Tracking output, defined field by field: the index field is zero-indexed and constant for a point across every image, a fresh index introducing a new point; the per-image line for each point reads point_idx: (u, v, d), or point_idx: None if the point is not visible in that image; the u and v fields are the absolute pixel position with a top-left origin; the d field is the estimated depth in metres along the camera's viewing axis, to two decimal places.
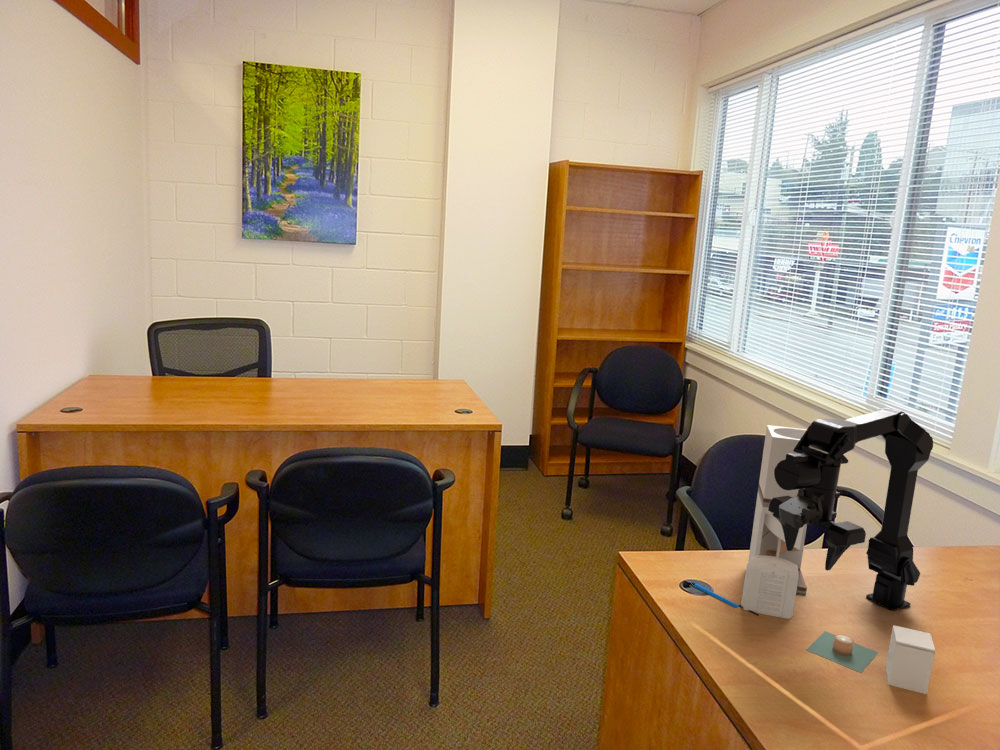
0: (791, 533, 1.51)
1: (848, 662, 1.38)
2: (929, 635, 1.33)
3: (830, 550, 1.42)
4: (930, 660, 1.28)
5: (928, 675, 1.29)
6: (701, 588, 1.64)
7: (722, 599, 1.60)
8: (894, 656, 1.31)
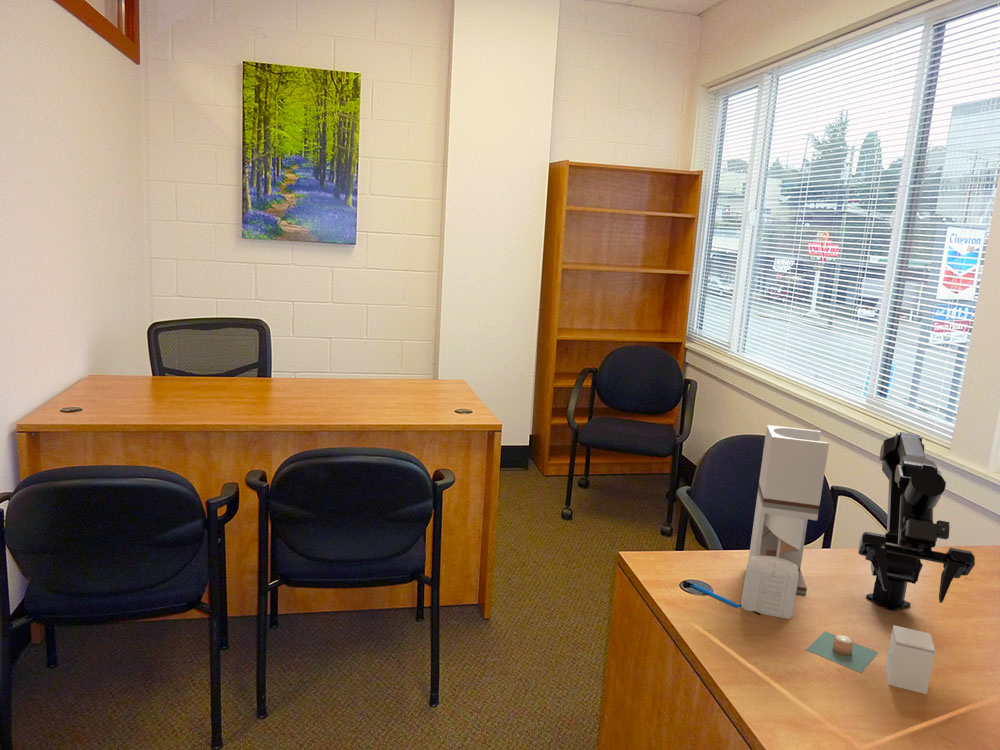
0: None
1: (848, 662, 1.38)
2: (929, 635, 1.33)
3: (948, 576, 1.37)
4: (930, 660, 1.28)
5: (928, 675, 1.29)
6: (700, 589, 1.64)
7: (722, 599, 1.60)
8: (894, 656, 1.31)
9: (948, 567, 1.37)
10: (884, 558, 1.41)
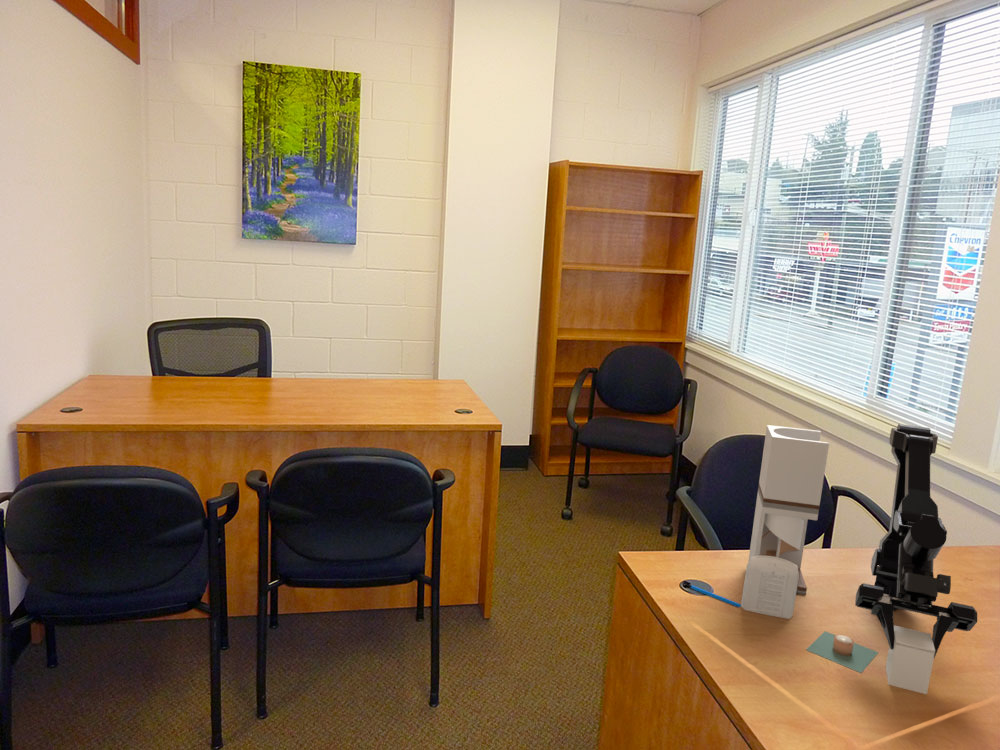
0: None
1: (848, 662, 1.38)
2: (929, 635, 1.33)
3: (940, 631, 1.31)
4: (930, 660, 1.28)
5: (928, 675, 1.29)
6: (699, 589, 1.63)
7: (722, 599, 1.60)
8: (894, 656, 1.31)
9: (940, 621, 1.31)
10: (891, 614, 1.34)
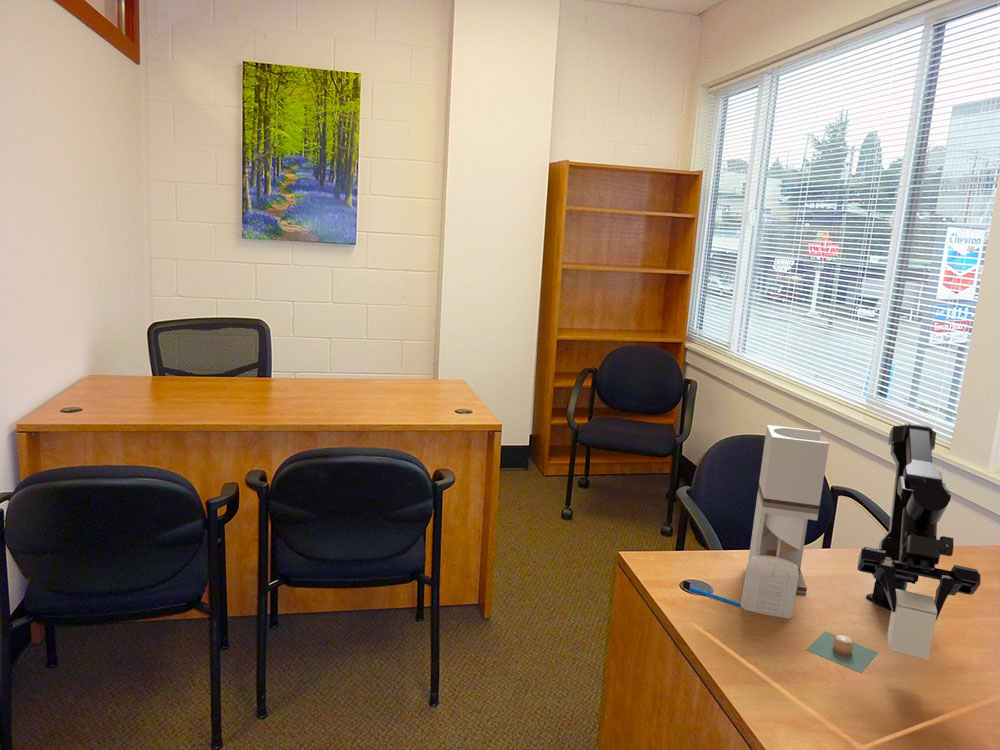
0: None
1: (848, 662, 1.38)
2: (932, 598, 1.32)
3: (943, 594, 1.30)
4: (932, 622, 1.27)
5: (930, 637, 1.28)
6: (698, 591, 1.63)
7: (723, 599, 1.60)
8: (896, 618, 1.30)
9: (942, 584, 1.30)
10: (893, 577, 1.33)
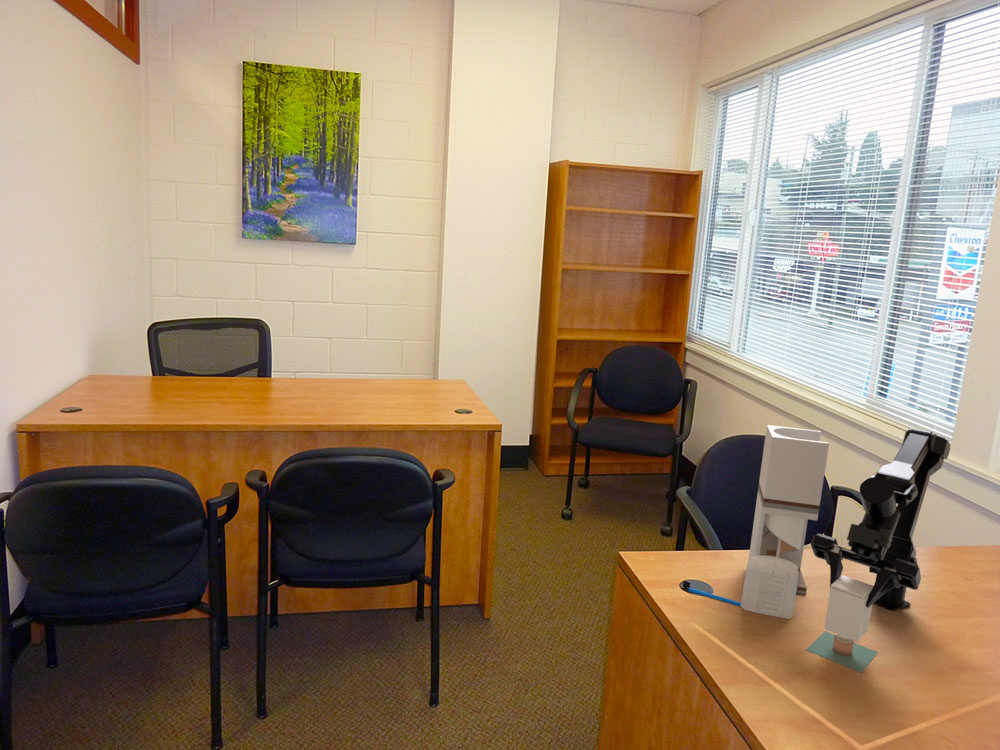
0: (837, 576, 1.42)
1: (848, 662, 1.38)
2: (872, 587, 1.39)
3: (879, 583, 1.37)
4: (860, 606, 1.36)
5: (859, 620, 1.36)
6: (697, 591, 1.62)
7: (723, 599, 1.60)
8: (829, 599, 1.39)
9: (880, 573, 1.37)
10: (836, 563, 1.42)
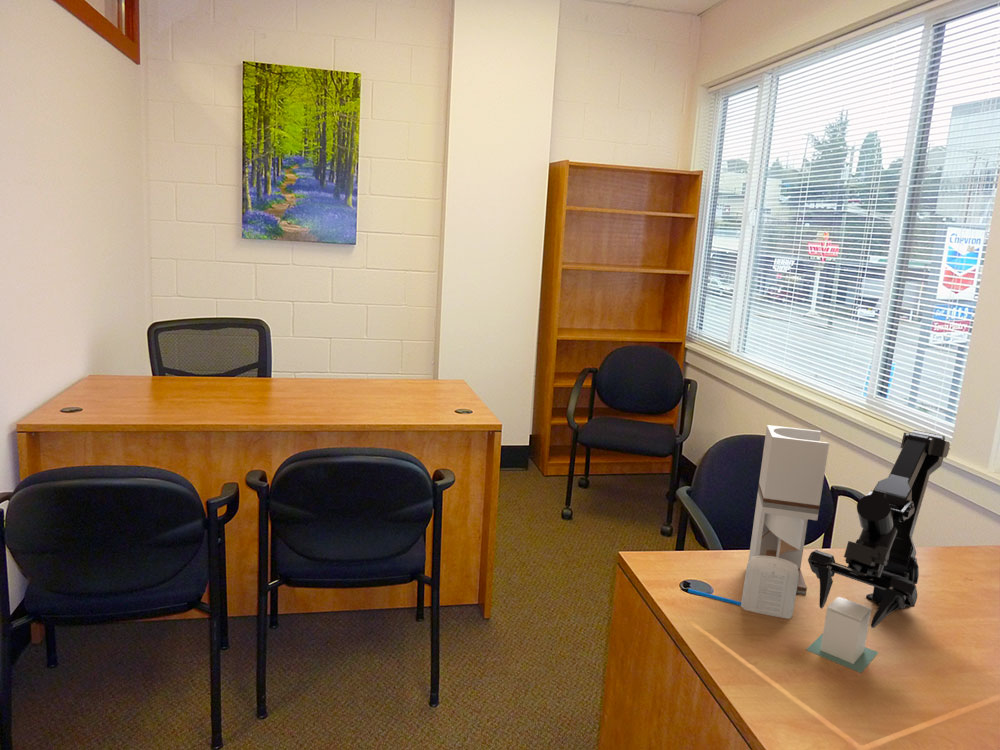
0: (827, 590, 1.43)
1: (848, 662, 1.38)
2: (868, 609, 1.40)
3: (884, 603, 1.36)
4: (856, 628, 1.36)
5: (855, 643, 1.37)
6: (697, 592, 1.62)
7: (723, 599, 1.60)
8: (825, 621, 1.40)
9: (885, 594, 1.36)
10: (826, 577, 1.43)
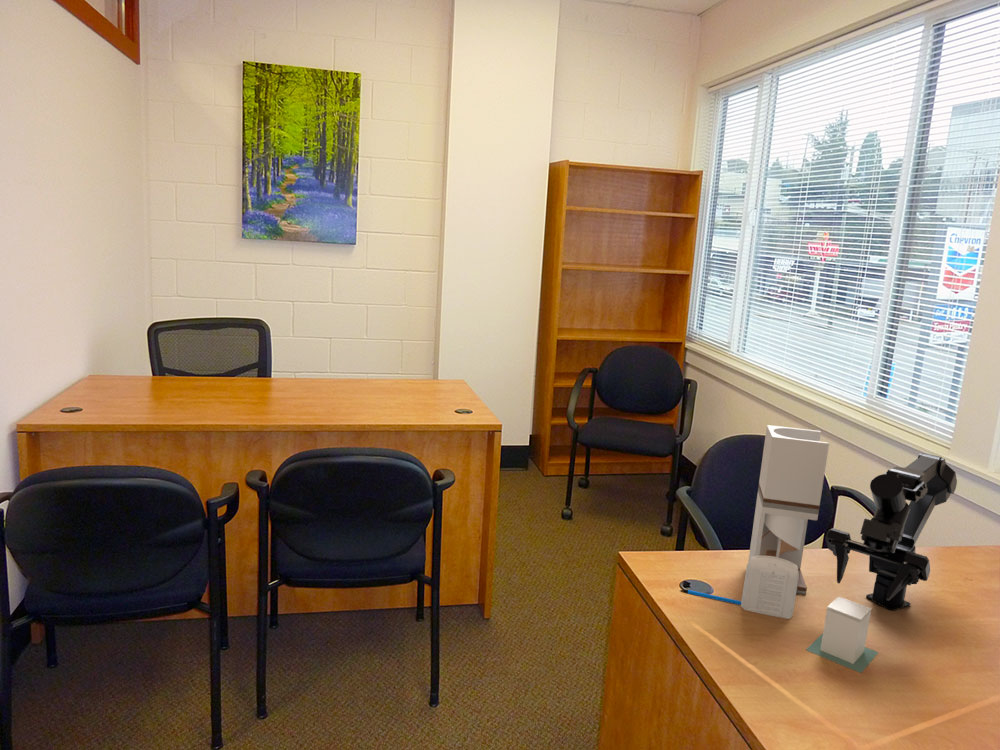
0: (843, 565, 1.51)
1: (848, 662, 1.38)
2: (868, 609, 1.40)
3: (899, 577, 1.44)
4: (856, 628, 1.36)
5: (855, 643, 1.37)
6: (697, 593, 1.61)
7: (723, 599, 1.60)
8: (825, 621, 1.40)
9: (900, 568, 1.44)
10: (842, 553, 1.51)
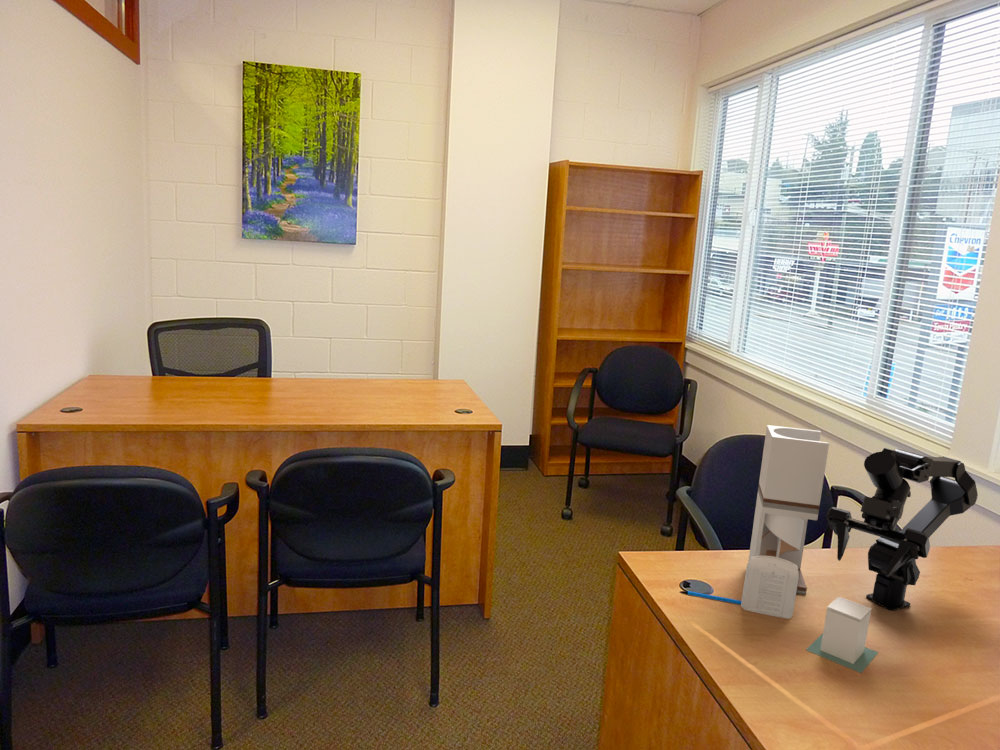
0: (844, 543, 1.53)
1: (848, 662, 1.38)
2: (868, 609, 1.40)
3: (899, 553, 1.45)
4: (856, 628, 1.36)
5: (855, 643, 1.37)
6: (697, 594, 1.61)
7: (723, 599, 1.60)
8: (825, 621, 1.40)
9: (899, 545, 1.46)
10: (843, 531, 1.53)
